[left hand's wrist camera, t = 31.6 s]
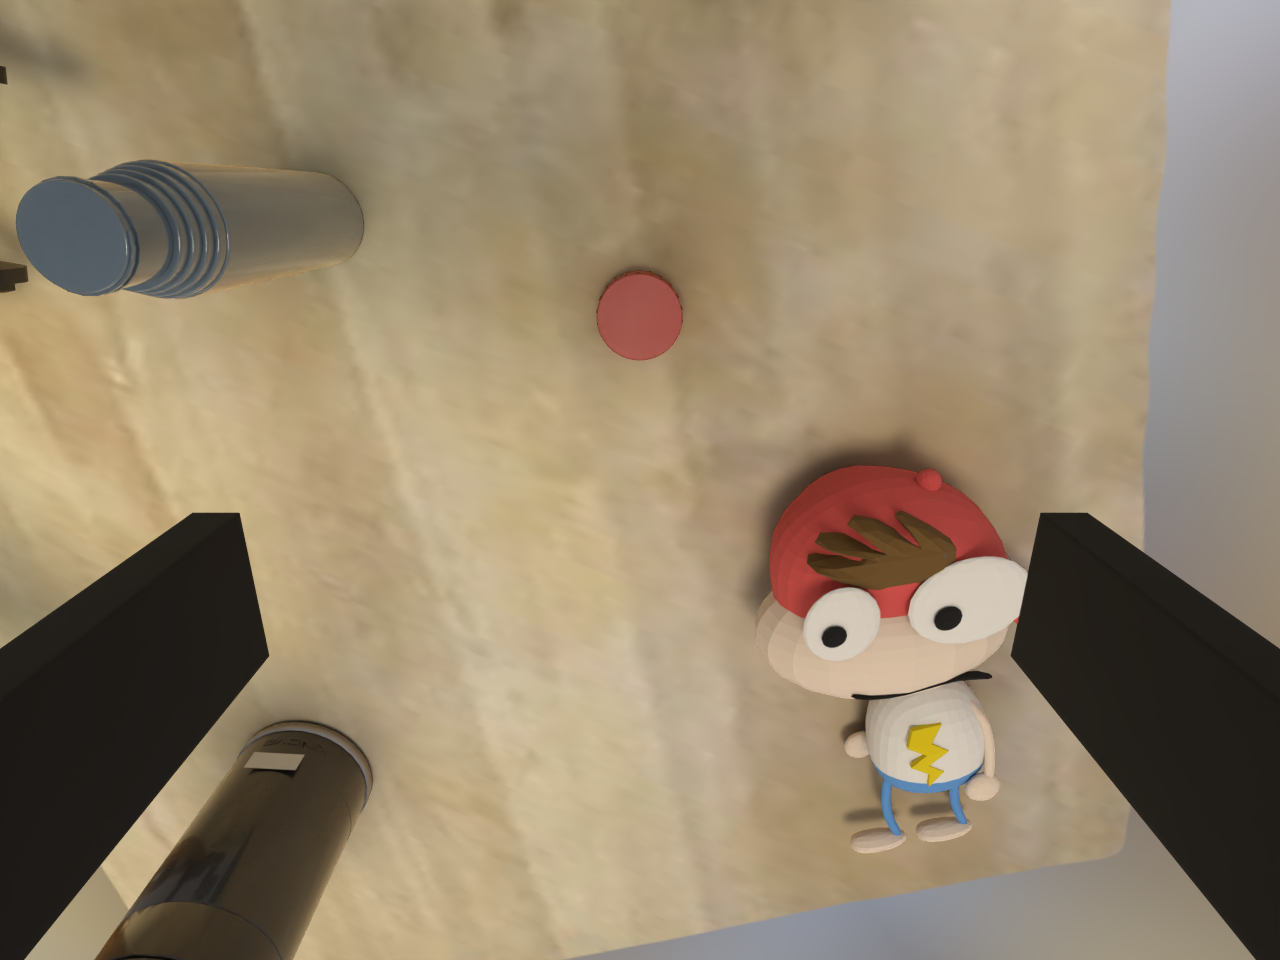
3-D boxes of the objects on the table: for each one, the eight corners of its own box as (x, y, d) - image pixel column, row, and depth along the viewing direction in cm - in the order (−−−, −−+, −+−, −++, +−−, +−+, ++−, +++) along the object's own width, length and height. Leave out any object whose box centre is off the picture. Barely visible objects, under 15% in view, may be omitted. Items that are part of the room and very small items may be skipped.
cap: (645, 370, 43) (646, 378, 42) (581, 319, 42) (578, 324, 41) (698, 307, 42) (701, 311, 40) (632, 251, 41) (632, 254, 39)
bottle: (280, 265, 41) (14, 315, 24) (267, 170, 40) (-31, 150, 22) (368, 267, 41) (167, 319, 24) (358, 173, 40) (133, 154, 22)
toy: (784, 932, 49) (774, 546, 35) (747, 803, 58) (728, 455, 44) (1056, 885, 49) (1152, 489, 36) (978, 764, 58) (1030, 411, 45)
